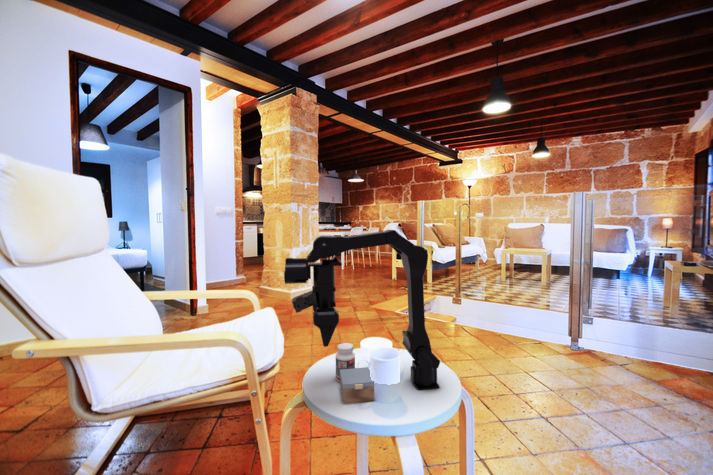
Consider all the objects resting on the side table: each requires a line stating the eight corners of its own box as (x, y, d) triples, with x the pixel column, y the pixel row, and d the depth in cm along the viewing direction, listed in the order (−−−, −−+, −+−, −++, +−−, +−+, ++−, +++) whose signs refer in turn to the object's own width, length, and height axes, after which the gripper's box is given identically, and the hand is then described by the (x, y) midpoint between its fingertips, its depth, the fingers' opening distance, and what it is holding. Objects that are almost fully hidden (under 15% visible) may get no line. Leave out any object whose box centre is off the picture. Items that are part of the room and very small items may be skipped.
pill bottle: (352, 384, 86) (352, 350, 86) (333, 382, 87) (333, 349, 87) (356, 374, 92) (356, 342, 91) (338, 373, 93) (338, 341, 92)
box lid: (368, 371, 86) (368, 367, 86) (374, 387, 77) (374, 382, 77) (339, 374, 85) (339, 369, 85) (343, 390, 76) (342, 385, 76)
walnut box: (368, 384, 86) (368, 371, 86) (374, 401, 78) (374, 386, 78) (340, 387, 85) (340, 373, 85) (343, 404, 77) (343, 388, 77)
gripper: (295, 277, 89) (296, 329, 90) (291, 291, 71) (292, 356, 71) (332, 276, 91) (333, 327, 91) (338, 289, 72) (339, 353, 73)
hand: (324, 339), depth 82 cm, fingers open, 9 cm apart
